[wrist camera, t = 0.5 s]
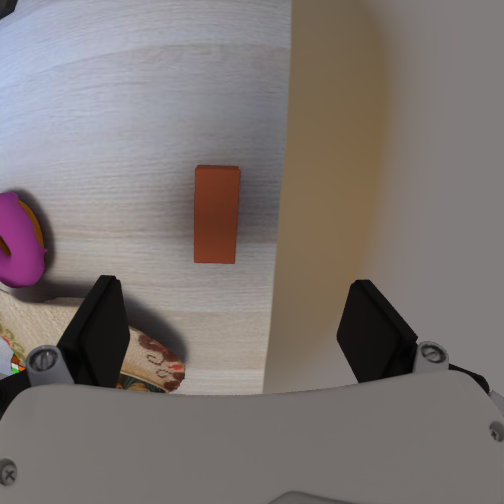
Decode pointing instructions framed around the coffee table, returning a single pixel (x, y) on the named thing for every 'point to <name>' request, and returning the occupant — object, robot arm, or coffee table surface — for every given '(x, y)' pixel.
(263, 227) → the coffee table surface
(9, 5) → the backing frame
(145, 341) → the religious ornament
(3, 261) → the donut
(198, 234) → the orange rectangular block
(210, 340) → the coffee table surface
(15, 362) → the rubik's cube
